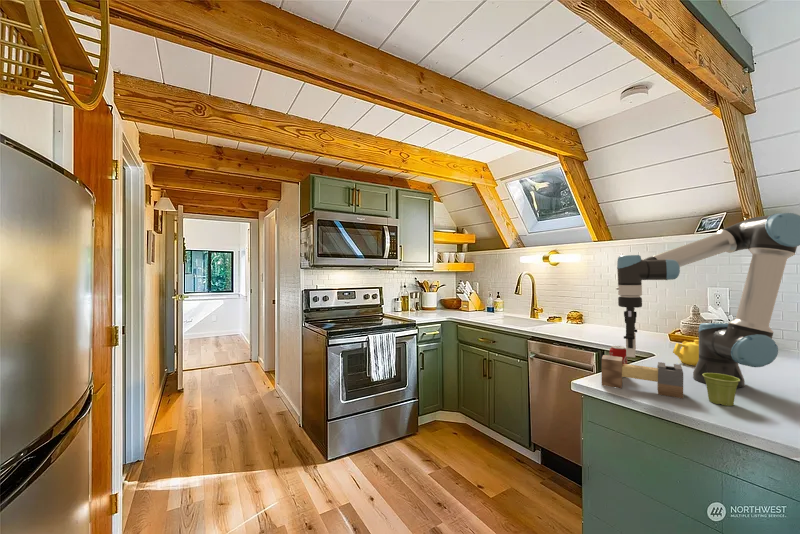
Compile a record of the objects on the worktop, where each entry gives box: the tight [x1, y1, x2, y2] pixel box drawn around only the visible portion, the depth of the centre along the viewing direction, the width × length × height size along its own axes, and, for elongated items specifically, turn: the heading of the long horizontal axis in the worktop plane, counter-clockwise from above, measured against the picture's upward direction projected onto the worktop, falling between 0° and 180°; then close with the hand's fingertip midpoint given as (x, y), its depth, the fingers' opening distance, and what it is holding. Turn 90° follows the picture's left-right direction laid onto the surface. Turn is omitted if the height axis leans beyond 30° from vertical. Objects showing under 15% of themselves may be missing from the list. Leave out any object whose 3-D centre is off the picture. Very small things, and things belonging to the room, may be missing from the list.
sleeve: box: [656, 361, 684, 400], centre depth 128 cm, size 7×7×10 cm
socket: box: [601, 354, 623, 390], centre depth 138 cm, size 6×7×10 cm
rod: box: [622, 363, 658, 383], centre depth 133 cm, size 16×4×4 cm, turn 56°
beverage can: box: [609, 345, 628, 379], centre depth 148 cm, size 6×6×12 cm
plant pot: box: [702, 373, 740, 407], centre depth 119 cm, size 9×9×9 cm
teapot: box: [672, 339, 699, 367], centre depth 169 cm, size 20×18×11 cm
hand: (631, 353), depth 134 cm, fingers open, 13 cm apart
